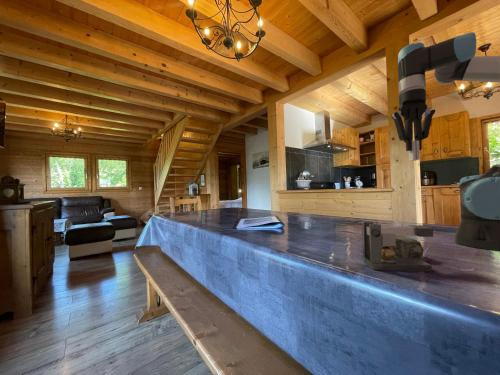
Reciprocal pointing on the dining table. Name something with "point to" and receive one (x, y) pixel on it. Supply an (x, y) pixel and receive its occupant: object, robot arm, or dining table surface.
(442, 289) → the dining table surface
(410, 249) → the stone
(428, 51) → the robot arm
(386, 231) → the lever
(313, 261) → the dining table surface
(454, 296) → the dining table surface
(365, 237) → the cracker base
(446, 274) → the dining table surface
